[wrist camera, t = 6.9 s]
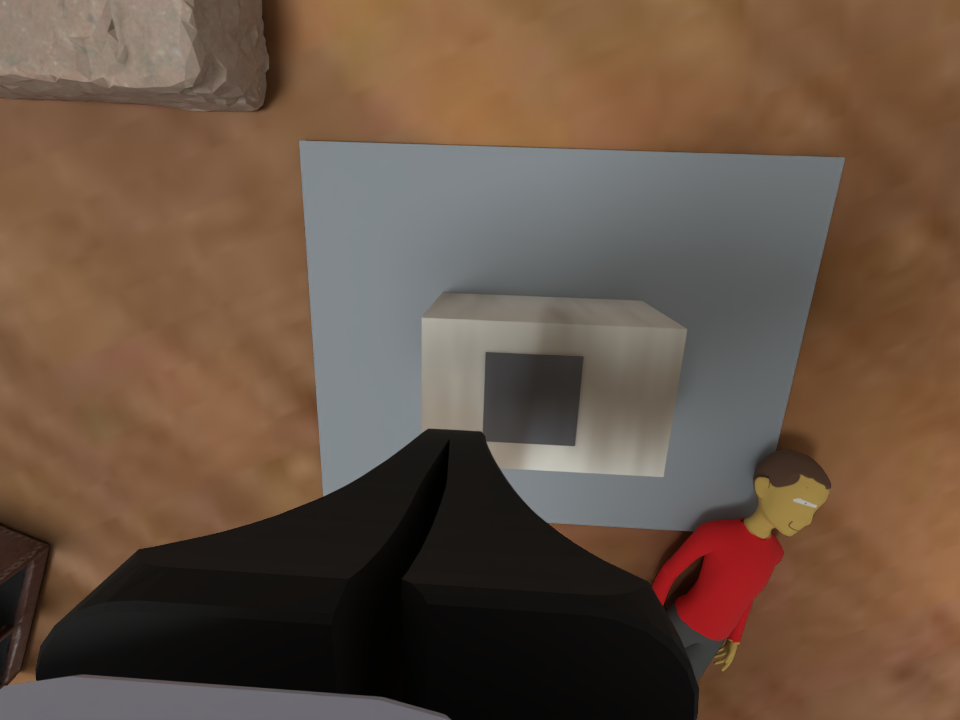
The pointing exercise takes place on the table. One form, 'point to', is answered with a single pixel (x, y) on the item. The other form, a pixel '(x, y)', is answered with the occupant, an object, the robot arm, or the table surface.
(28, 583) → the letter holder
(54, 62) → the brick
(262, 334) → the table surface
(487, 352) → the cream block
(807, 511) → the person figure
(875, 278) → the table surface
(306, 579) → the robot arm
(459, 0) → the table surface
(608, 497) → the slate mat
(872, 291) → the table surface
